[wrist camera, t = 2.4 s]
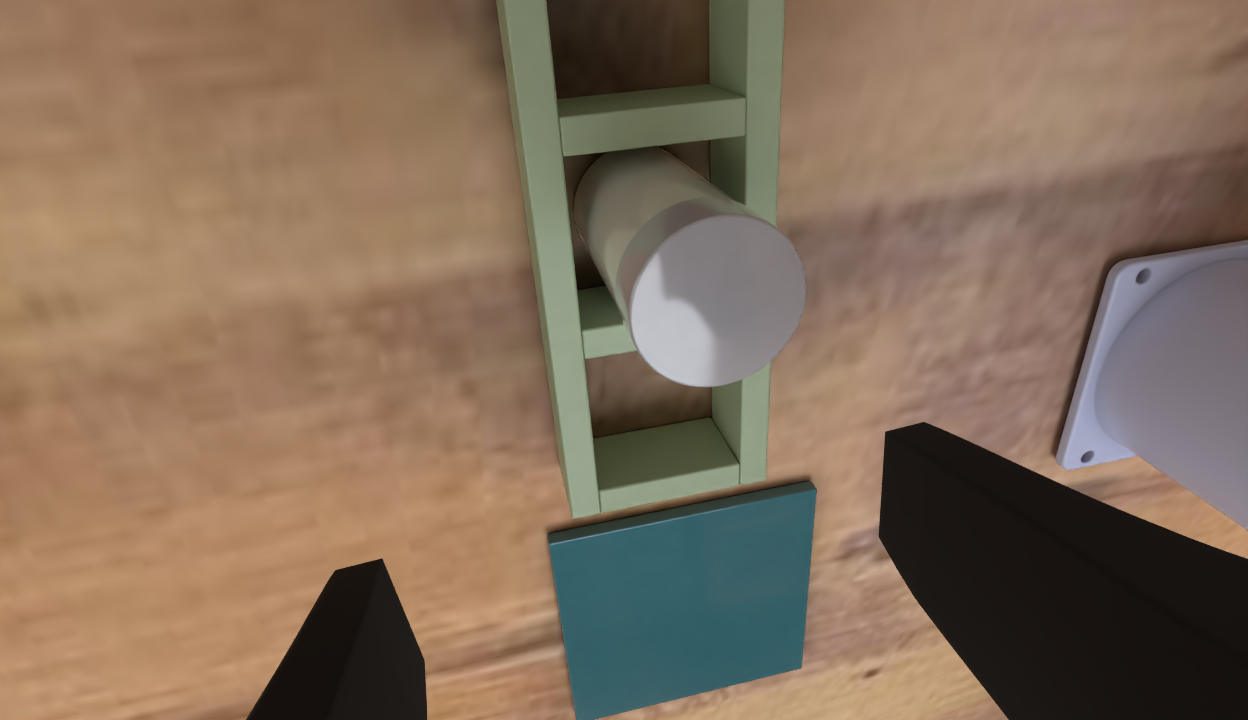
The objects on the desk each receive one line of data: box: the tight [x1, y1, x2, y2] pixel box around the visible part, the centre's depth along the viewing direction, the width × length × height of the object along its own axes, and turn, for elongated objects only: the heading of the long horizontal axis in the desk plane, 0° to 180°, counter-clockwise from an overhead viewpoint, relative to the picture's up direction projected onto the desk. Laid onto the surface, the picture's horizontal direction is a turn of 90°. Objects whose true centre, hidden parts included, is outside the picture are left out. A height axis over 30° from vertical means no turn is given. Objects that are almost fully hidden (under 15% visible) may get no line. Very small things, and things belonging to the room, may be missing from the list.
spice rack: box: [496, 0, 785, 519], centre depth 17 cm, size 6×15×2 cm, turn 4°
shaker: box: [574, 146, 806, 387], centre depth 15 cm, size 3×3×6 cm
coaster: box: [547, 481, 817, 720], centre depth 25 cm, size 9×9×1 cm
